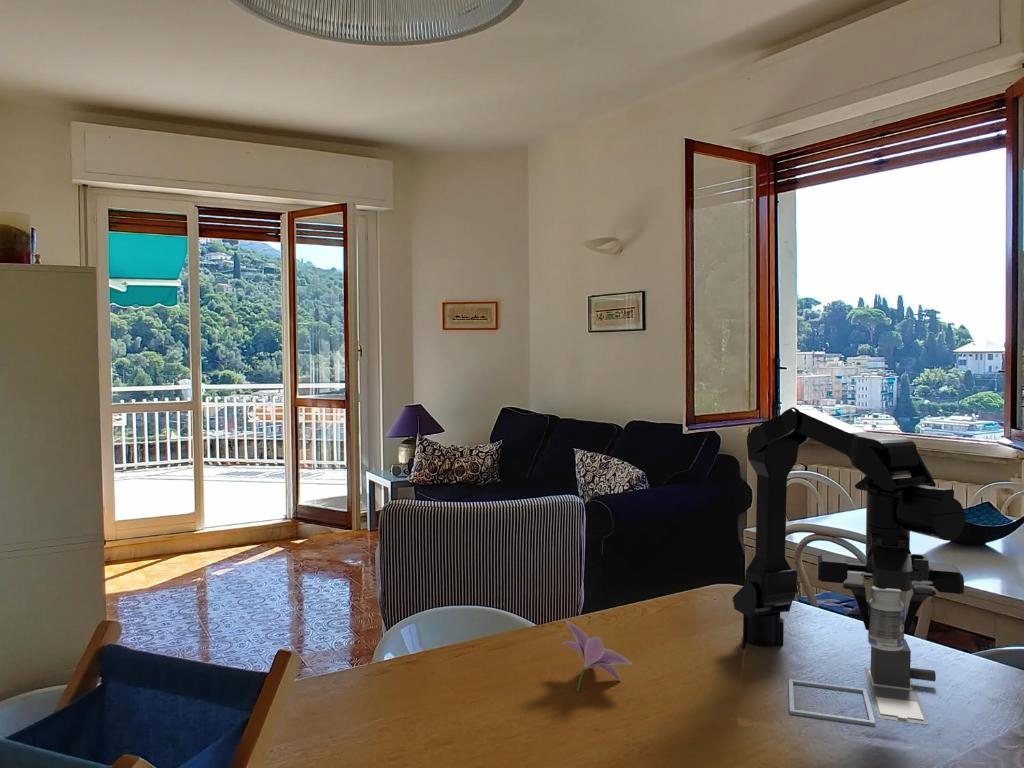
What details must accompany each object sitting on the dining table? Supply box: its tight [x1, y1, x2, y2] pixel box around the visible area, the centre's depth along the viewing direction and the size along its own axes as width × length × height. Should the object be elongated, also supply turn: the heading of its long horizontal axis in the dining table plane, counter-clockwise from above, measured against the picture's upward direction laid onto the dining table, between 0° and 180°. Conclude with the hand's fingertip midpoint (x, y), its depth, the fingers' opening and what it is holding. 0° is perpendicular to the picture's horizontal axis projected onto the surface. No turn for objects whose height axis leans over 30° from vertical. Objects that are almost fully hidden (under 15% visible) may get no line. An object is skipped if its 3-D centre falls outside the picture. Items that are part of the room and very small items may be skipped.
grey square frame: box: [788, 678, 876, 727], centre depth 115 cm, size 11×11×1 cm
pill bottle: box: [867, 585, 905, 651], centre depth 113 cm, size 5×5×8 cm
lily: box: [562, 619, 633, 691], centre depth 124 cm, size 12×12×10 cm
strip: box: [864, 667, 930, 726], centre depth 118 cm, size 6×18×1 cm, turn 161°
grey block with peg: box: [870, 638, 937, 688], centre depth 122 cm, size 9×5×6 cm, turn 71°
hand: (886, 631), depth 113 cm, fingers closed on pill bottle, 5 cm apart
